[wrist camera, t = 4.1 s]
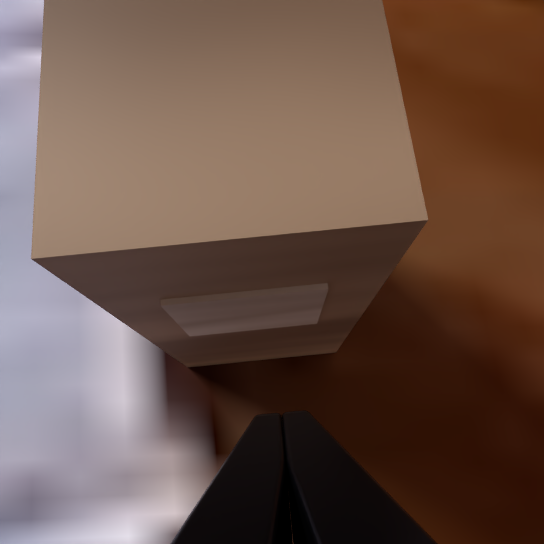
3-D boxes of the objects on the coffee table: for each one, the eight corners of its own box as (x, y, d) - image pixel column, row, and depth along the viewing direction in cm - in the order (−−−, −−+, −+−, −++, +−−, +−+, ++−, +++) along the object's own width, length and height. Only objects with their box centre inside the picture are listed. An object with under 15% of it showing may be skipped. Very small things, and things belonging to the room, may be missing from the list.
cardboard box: (336, 355, 15) (429, 227, 6) (188, 370, 15) (30, 267, 6) (317, 216, 17) (366, -73, 7) (181, 230, 17) (46, -45, 7)
